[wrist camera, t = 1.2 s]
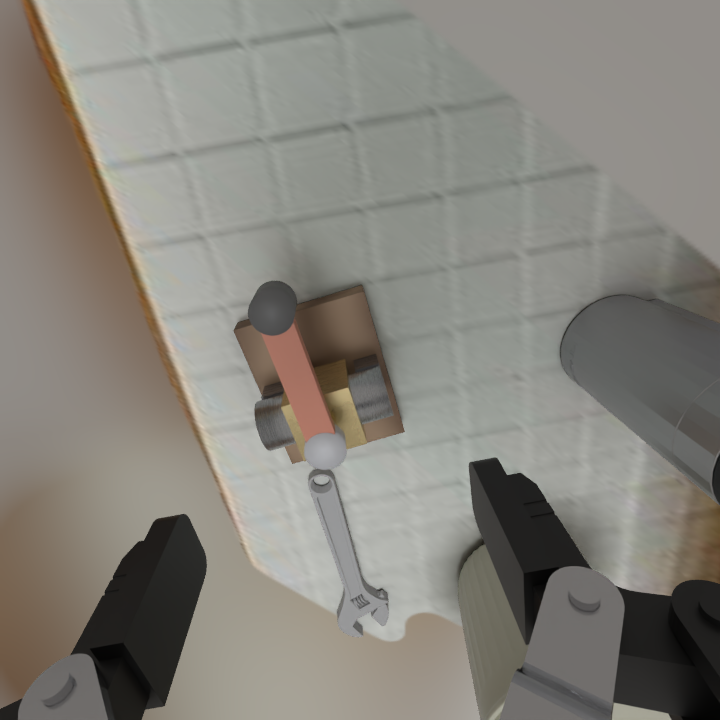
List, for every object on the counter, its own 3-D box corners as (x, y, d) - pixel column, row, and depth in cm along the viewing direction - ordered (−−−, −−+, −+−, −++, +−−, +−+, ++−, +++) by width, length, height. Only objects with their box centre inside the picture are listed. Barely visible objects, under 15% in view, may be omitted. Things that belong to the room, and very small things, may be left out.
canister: (567, 610, 56) (695, 843, 36) (429, 621, 54) (487, 868, 35) (597, 502, 48) (778, 723, 29) (439, 512, 47) (518, 750, 28)
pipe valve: (372, 343, 36) (384, 386, 29) (387, 392, 38) (402, 445, 31) (259, 376, 36) (244, 427, 29) (280, 423, 39) (270, 482, 31)
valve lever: (290, 275, 26) (286, 286, 24) (349, 439, 31) (351, 463, 29) (246, 288, 26) (238, 300, 24) (312, 450, 32) (312, 474, 29)
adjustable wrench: (304, 466, 44) (304, 478, 42) (367, 457, 44) (368, 468, 42) (340, 626, 54) (341, 640, 52) (391, 618, 54) (393, 631, 53)
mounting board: (361, 285, 36) (364, 291, 34) (401, 420, 42) (404, 431, 40) (237, 322, 36) (233, 330, 35) (293, 451, 42) (292, 463, 40)
